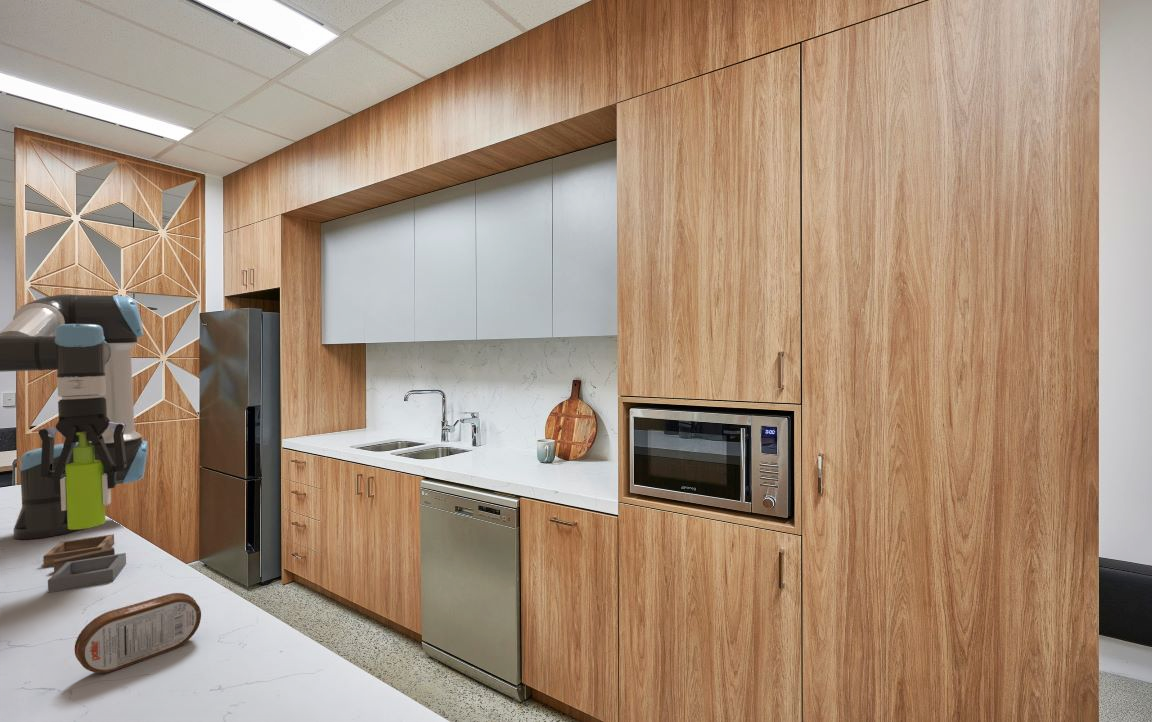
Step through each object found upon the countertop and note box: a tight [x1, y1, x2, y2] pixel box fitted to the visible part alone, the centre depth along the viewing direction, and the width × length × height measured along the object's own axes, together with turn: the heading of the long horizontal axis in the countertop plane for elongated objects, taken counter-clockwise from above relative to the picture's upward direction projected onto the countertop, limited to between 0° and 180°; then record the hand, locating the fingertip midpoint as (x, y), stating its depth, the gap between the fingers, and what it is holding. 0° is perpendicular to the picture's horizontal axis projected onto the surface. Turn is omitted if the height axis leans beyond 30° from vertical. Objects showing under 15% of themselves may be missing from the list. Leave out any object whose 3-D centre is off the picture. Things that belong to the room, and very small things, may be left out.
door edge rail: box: [53, 546, 116, 575], centre depth 121 cm, size 2×10×2 cm, turn 136°
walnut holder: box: [42, 533, 115, 568], centre depth 128 cm, size 11×10×2 cm
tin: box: [74, 592, 202, 674], centre depth 82 cm, size 15×3×8 cm, turn 141°
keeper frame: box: [47, 552, 127, 594], centre depth 114 cm, size 11×10×2 cm
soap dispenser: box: [65, 431, 106, 530], centre depth 114 cm, size 6×7×20 cm
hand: (86, 506), depth 114 cm, fingers closed on soap dispenser, 6 cm apart
